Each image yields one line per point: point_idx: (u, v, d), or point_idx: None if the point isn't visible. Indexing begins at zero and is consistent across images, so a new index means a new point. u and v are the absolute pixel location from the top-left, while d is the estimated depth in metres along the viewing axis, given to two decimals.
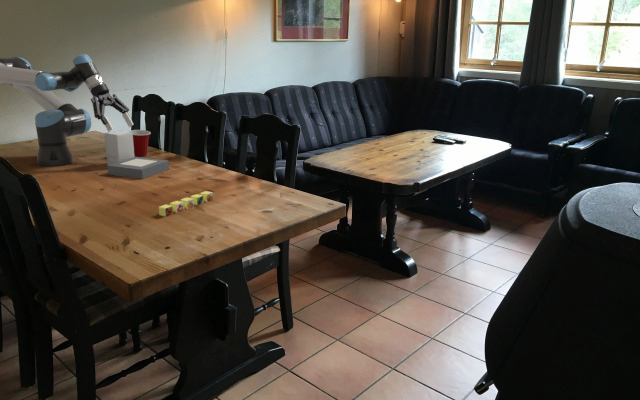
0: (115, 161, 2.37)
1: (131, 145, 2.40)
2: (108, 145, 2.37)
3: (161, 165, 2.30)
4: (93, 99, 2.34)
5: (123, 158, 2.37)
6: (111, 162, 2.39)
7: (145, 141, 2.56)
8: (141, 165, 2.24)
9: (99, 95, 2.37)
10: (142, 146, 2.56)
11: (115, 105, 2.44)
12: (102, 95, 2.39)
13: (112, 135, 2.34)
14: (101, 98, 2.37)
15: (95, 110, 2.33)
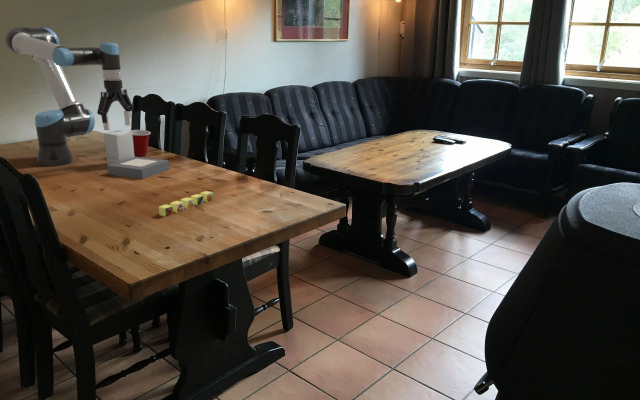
0: (115, 161, 2.37)
1: (131, 145, 2.40)
2: (108, 145, 2.37)
3: (161, 165, 2.30)
4: (103, 94, 2.26)
5: (123, 158, 2.37)
6: (111, 162, 2.39)
7: (145, 141, 2.56)
8: (141, 165, 2.24)
9: (110, 91, 2.29)
10: (142, 146, 2.56)
11: (121, 102, 2.37)
12: (113, 91, 2.31)
13: (112, 135, 2.34)
14: (111, 94, 2.30)
15: (100, 107, 2.26)
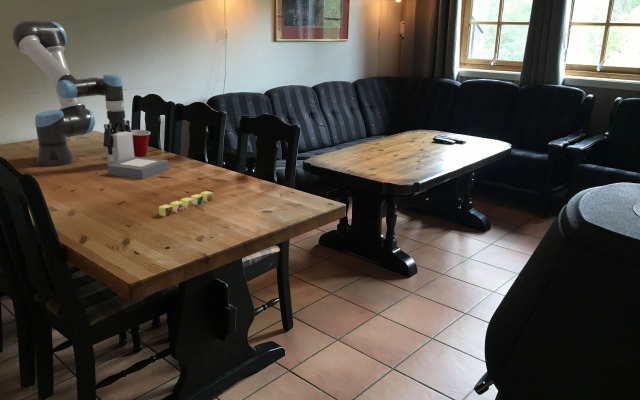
0: None
1: (131, 145, 2.40)
2: None
3: (161, 165, 2.30)
4: (106, 127, 2.31)
5: (123, 158, 2.37)
6: (111, 162, 2.39)
7: (145, 141, 2.56)
8: (141, 165, 2.24)
9: (113, 121, 2.33)
10: (142, 146, 2.56)
11: None
12: (116, 120, 2.34)
13: (112, 135, 2.34)
14: (114, 124, 2.34)
15: (105, 139, 2.31)
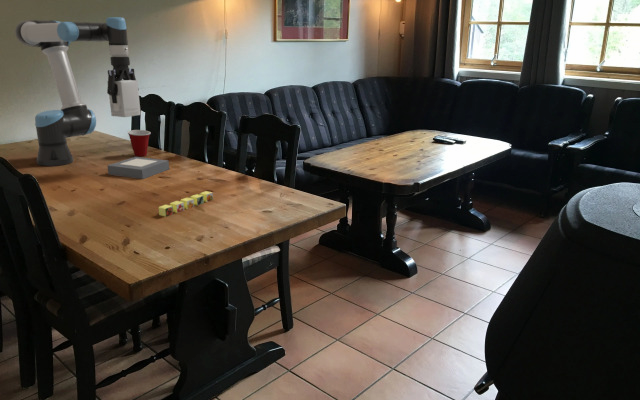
0: (120, 111, 2.24)
1: (136, 94, 2.27)
2: None
3: (161, 165, 2.30)
4: (110, 73, 2.17)
5: (128, 107, 2.24)
6: (115, 112, 2.25)
7: (145, 141, 2.56)
8: (141, 165, 2.24)
9: (117, 67, 2.20)
10: (142, 146, 2.56)
11: None
12: (120, 67, 2.21)
13: (116, 82, 2.21)
14: (118, 71, 2.21)
15: (109, 86, 2.18)
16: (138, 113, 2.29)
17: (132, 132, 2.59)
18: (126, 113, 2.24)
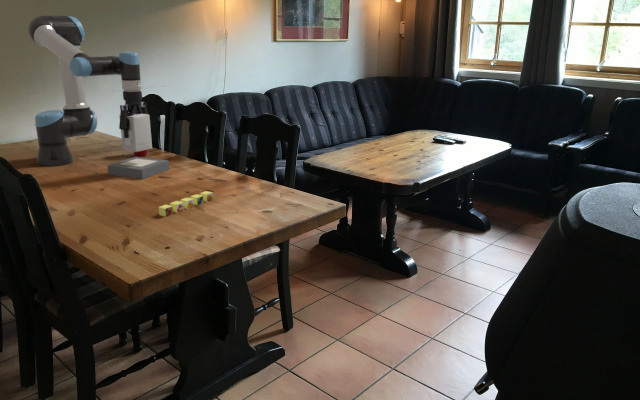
0: None
1: (148, 128, 2.25)
2: None
3: (161, 165, 2.30)
4: (123, 108, 2.16)
5: (140, 142, 2.23)
6: (127, 146, 2.24)
7: None
8: (141, 165, 2.24)
9: (130, 102, 2.18)
10: None
11: None
12: (132, 101, 2.20)
13: (128, 117, 2.19)
14: (131, 106, 2.19)
15: (121, 121, 2.17)
16: (149, 147, 2.27)
17: None
18: (138, 148, 2.22)
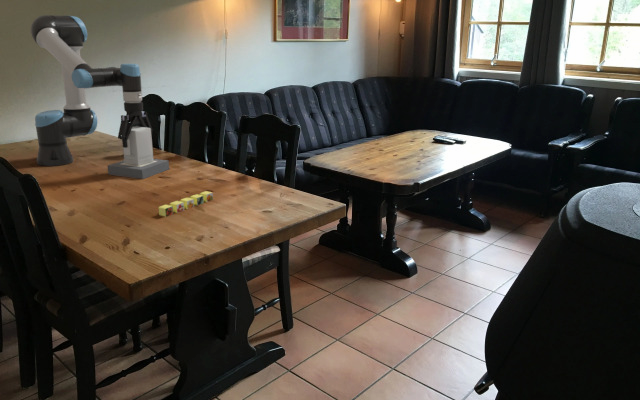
0: (133, 159, 2.24)
1: (149, 141, 2.27)
2: None
3: (161, 165, 2.30)
4: (123, 118, 2.17)
5: (142, 155, 2.25)
6: (129, 160, 2.26)
7: None
8: (141, 165, 2.24)
9: (131, 113, 2.20)
10: None
11: (141, 124, 2.28)
12: (134, 113, 2.21)
13: None
14: (132, 117, 2.20)
15: (121, 131, 2.17)
16: (151, 160, 2.30)
17: None
18: (140, 161, 2.24)
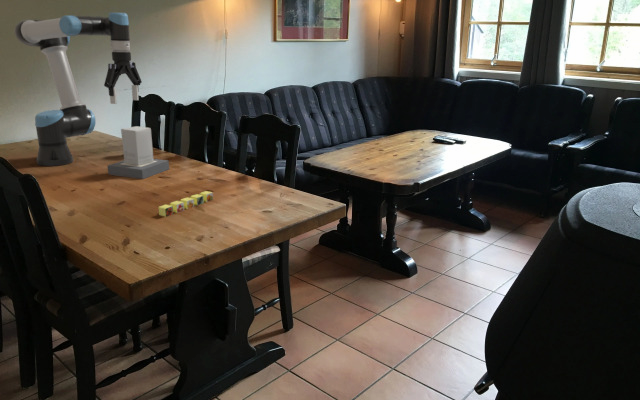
0: (133, 159, 2.24)
1: (149, 141, 2.27)
2: (125, 141, 2.24)
3: (161, 165, 2.30)
4: (111, 66, 2.18)
5: (142, 155, 2.25)
6: (129, 160, 2.26)
7: None
8: (141, 165, 2.24)
9: (119, 63, 2.21)
10: None
11: (129, 75, 2.29)
12: (121, 63, 2.22)
13: (130, 131, 2.21)
14: (119, 66, 2.22)
15: (107, 79, 2.18)
16: (151, 160, 2.30)
17: None
18: (140, 161, 2.24)
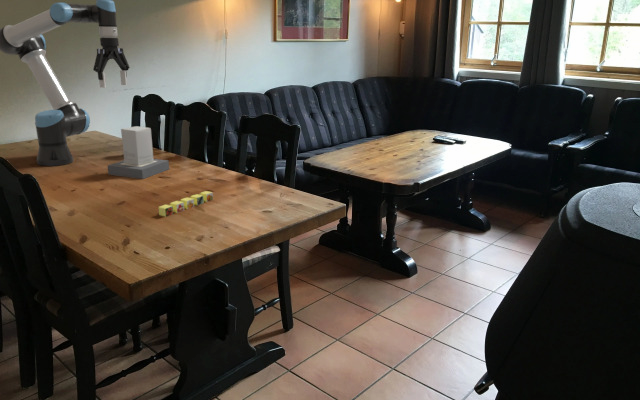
0: (133, 159, 2.24)
1: (149, 141, 2.27)
2: (125, 141, 2.24)
3: (161, 165, 2.30)
4: (99, 51, 2.28)
5: (142, 155, 2.25)
6: (129, 160, 2.26)
7: None
8: (141, 165, 2.24)
9: (107, 48, 2.31)
10: None
11: (118, 60, 2.39)
12: (110, 48, 2.32)
13: (130, 131, 2.21)
14: (107, 51, 2.31)
15: (96, 63, 2.28)
16: (151, 160, 2.30)
17: None
18: (140, 161, 2.24)
